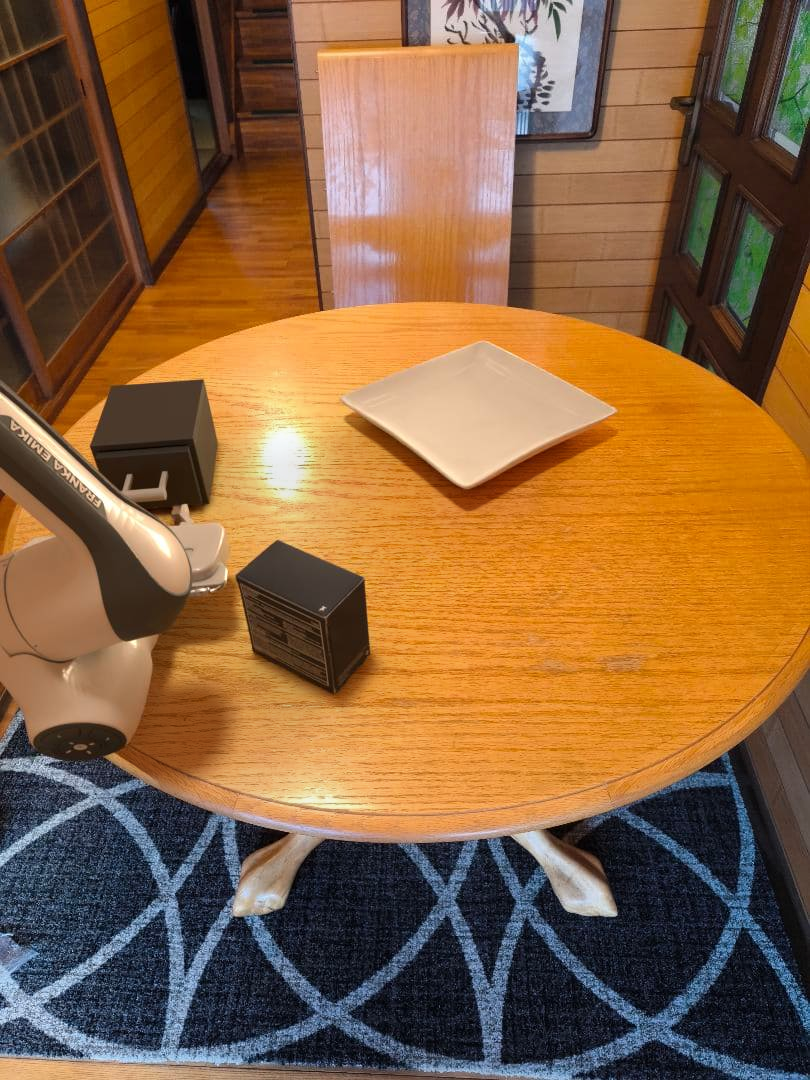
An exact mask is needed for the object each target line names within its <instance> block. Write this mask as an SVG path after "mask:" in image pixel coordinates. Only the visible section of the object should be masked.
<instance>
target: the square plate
mask: <svg viewBox="0 0 810 1080" xmlns="http://www.w3.org/2000/svg"><path fill="white" fill-rule="evenodd" d="M339 401H340V402H341V403H342V404H343V405H345V406H346V407H348V409H350V410H351V411H353V412H355V413H357V414H358V415H359V416H361V417H362V418H364V420H366V421H368V422H369V423H371V424H372V425H374V426H375V427H376V428H379V429H380V430H382V431H383V432H385V433H387V434H388V435H389V436H391V437H392V438H394V439H395V440H396V441H397V442H400V443H401V444H402V445H404V446H405V447H406V448H408V449H409V450H410V451H412V452H413V453H415V454H416V455H417V456H418V457H420V458H421V459H422V460H423V461H424V462H426V463H427V464H428V465H430V466H431V467H432V468H433V469H435V470H436V471H437V472H438V473H440V474H441V475H442V476H443V477H445V478H446V479H447V480H449V481H450V482H451V483H453V484H454V485H456V486H457V487H460V488H461V489H463V490H470V489H473V488H475V487H477V486H480V485H482V484H484V483H485V482H488V481H490V480H492V479H494V478H495V477H497V476H500V475H501V474H503V473H504V472H506V471H508V470H510V469H511V468H513V467H515V466H517V465H519V464H521V463H523V462H525V461H527V460H528V459H530V458H532V457H534V456H536V455H538V454H540V453H542V452H544V451H546V450H548V449H550V448H552V447H554V446H556V445H559V444H560V443H563V442H565V441H567V440H569V439H572V438H574V437H576V436H578V435H581V434H583V433H586V432H587V431H589V430H591V429H593V428H595V427H597V426H599V425H601V424H602V423H604V422H605V421H606V420H608V419H610V418H611V417H613V416H615V415H616V414H617V413H618V409H616V407H614V406H612V404H611V405H610V404H608V403H607V402H605V401H603V400H602V399H599V398H597V397H596V396H594V395H592V394H590V393H589V392H587V391H584V390H582V389H581V388H579V387H577V386H575V385H573V384H572V383H570V382H568V381H566V380H565V379H562V378H560V377H558V376H556V375H555V374H554V373H551V372H549V371H547V370H545V369H544V368H541V367H539V366H537V365H535V364H534V363H532V362H529V361H527V360H526V359H523V358H522V357H520V356H517V355H516V354H514V353H512V352H510V351H507V350H506V349H505V348H502V347H500V346H498V345H496V344H493V343H492V342H489V341H487V340H480V341H477V342H473V343H472V344H469V345H465V346H463V347H460V348H458V349H455V350H452V351H450V352H447V353H445V354H441V355H440V356H436V357H433V358H431V359H428V360H425V361H423V362H420V363H418V364H415V365H413V366H410V367H407V368H405V369H402V370H400V371H397V372H395V373H392V374H390V375H387V376H385V377H382V378H379V379H378V380H375V381H373V382H370V383H368V384H365V385H364V386H361V387H358V388H356V389H354V390H351V391H348V392H347V393H344V394H342V395H341V396H340V397H339Z"/></svg>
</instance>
